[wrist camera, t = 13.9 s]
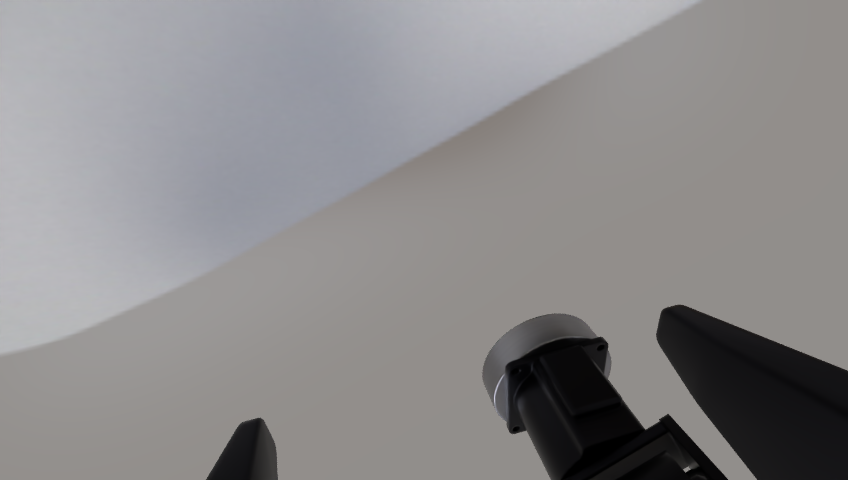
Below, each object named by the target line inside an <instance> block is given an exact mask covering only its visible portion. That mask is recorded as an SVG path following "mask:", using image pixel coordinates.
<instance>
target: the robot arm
mask: <svg viewBox="0 0 848 480" xmlns="http://www.w3.org/2000/svg"><path fill="white" fill-rule="evenodd" d="M656 337H657V341H658V343H659V345H660V347H661V348H662V350H663V352H664V353H665V355H666V356H667V358H668V359H669V361H670V362H671V364H672V366H673V367H674V369H675V370H676V372H677V373H678V375H679V376H680V378H681V380H682V381H683V382H684V384H685V386H686V387H687V389H688V390H689V392H690V393H691V395H692V396H693V398H694V399H695V401H696V402H697V404H698V405H699V406H700V407H701V409H702V410H703V411H704V413H705V414H706V415H707V417H708V418H709V419H710V420H711V422H712V423H713V424H714V425H715V427H716V428H717V429H718V431H719V432H720V433H721V434H722V435H723V437H724V438H725V439H726V441H727V442H728V443H729V444H730V446H731V447H732V448H733V449H734V451H735V452H736V453H737V455H738V456H739V457H740V458H741V460H742V461H743V462H744V463H745V464H746V466H747V467H748V468H749V470H750V471H751V472H752V474H753V475H754V476H755V477H756V478H757V480H848V371H847V370H845V369H842V368H840V367H837V366H834V365H832V364H830V363H827V362H825V361H822V360H819V359H817V358H814V357H812V356H809V355H807V354H805V353H802V352H799V351H797V350H794V349H792V348H789V347H787V346H784V345H782V344H779V343H777V342H774V341H772V340H769V339H767V338H764V337H762V336H759V335H757V334H754V333H752V332H749V331H747V330H744V329H742V328H739V327H737V326H734V325H732V324H729V323H727V322H724V321H722V320H719V319H717V318H714V317H712V316H709V315H707V314H704V313H702V312H699V311H697V310H694V309H692V308H689V307H687V306H684V305H675V306H671V307H667V308H665V309H663V310H662V312H661V315H660V319H659V324H658V329H657V333H656ZM607 351H608V343H607V342H606V341H605V339H604V338H603V337H597V338H593V339H590V340H586V341H582V342H579V343H575V344H571V345H568V346H564V347H561V348H557V349H553V350H550V351H546V352H542V353H539V354H535V355H531V356H528V357H524V358H520V359H517V360H513V361H511V362H509V363H508V364H507V365H506V366H505V386H506V418H507V428H508V430H509V432H510V433H511V434H516V433H519V432H523V431H526V430H527V432H528V434H529V436H530V438H531V440H532V442H533V444H534V446H535V448H536V450H537V452H538V454H539V456H540V458H541V460H542V462H543V464H544V466H545V468H546V470H547V472H548V475H549V477H550V478H551V480H728V479H727V478H726V477H725V476H724V474H723V473H722V472H721V471H720V470H719V469H718V468H717V467H716V466H715V465H714V463H713V462H712V461H711V460H710V459H709V458H708V457H707V456H706V455H705V454H704V452H703V451H701V449H700V448H699V447H698V446H697V445H696V444H695V443H694V442H693V440H692V439H691V438H690V437H689V436H688V435H687V434H686V433H685V432H684V431H683V430H682V428H681V427H680V426H679V425H678V424H677V423H676V422H675V421H674V420H673V419H672V417H671V416H670V415H669V414H667V415H666V416H664V417H662V418H661V419H659V420H660V421H659V422H658V423H656V424H655V425H653V426H651V427H650V428H648V429H646V430H645V429H644V427H643V426H642V425H641V423H640V422H639V421H638V419H637V418H636V417H635V416H634V414H633V413H632V412H631V410H630V409H629V408H628V406H627V405H626V404H625V402H624V401H623V400H622V398H621V396H620V394H619V393H618V392H617V391H616V389H615V388H614V387H613V385H612V384H611V383H610V381H609V380H608V379H607V377H606V376H605V375H604V372H605V365H606V358H607ZM276 455H277V454H276V447H275V443H274V440H273V438H272V436H271V434H270V432H269V430H268V428H267V426H266V424H265V422H264V420H263V419H261V418H256V419H253V420H249V421H245V422H242V423H241V424H240V425H239V426H238V427H237V429H236V431H235V432H234V434H233V436H232V437H231V439H230V441H229V442H228V444H227V446H226V447H225V449H224V451H223V452H222V454H221V456H220V457H219V459H218V461H217V462H216V464H215V466H214V467H213V469H212V471H211V472H210V474H209V476H208V477H207V479H206V480H278V475H277V456H276ZM688 466H689V468H690V469H691V470H689V471H687V472H686V473H685V472H684V470H683V469H684V468H686V467H688Z"/></svg>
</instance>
